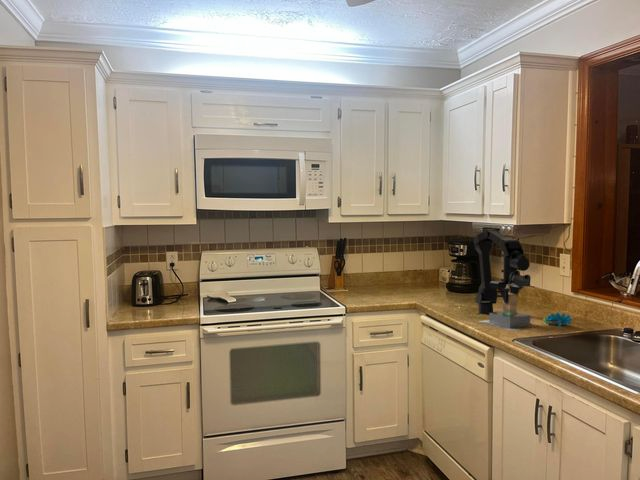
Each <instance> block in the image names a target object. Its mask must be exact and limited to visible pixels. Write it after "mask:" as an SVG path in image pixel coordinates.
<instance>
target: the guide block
mask: <svg viewBox="0 0 640 480" xmlns="http://www.w3.org/2000/svg"><path fill="white" fill-rule="evenodd" d="M488 316H489V317H488V320H489V321H488V324H489V323H493V324H494V325H495V324H496V325H495V326H500V327H502V328H506V329H515V328H524V327H530V326H531V325H530V323H531V315H530V314H527V313H522V312H519V311H517V314H516V315H510V316H509V315H506V314H503V310H501V311H500V310H499V311H493V312H491V313H489V315H488ZM493 324H492V325H493Z"/></svg>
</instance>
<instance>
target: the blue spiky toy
mask: <svg viewBox="0 0 640 480" xmlns="http://www.w3.org/2000/svg"><path fill="white" fill-rule="evenodd" d="M572 320H573V318H572V317H571V315H570V314H566V313H563V312H562V313H561V314H560V312H556V313H555V314H554V313H553V312H552V313H551V314H550V315H547V317H544V318H543V322H544V323H545V325H546V326H550V325H557V326H558V328H561V327H562V325H566V326H567V325H569V324H571V323H572Z"/></svg>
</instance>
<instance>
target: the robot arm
mask: <svg viewBox="0 0 640 480" xmlns="http://www.w3.org/2000/svg"><path fill="white" fill-rule="evenodd" d="M494 243H495V244H496V245H498V246H499V249H500V250H501V251H502V252H503V253H502V254H501V257H502V258H503V269H500V270H501V272H500V273H503V274H502V275H503V278H500V279H501V280H493V278H492V268H491V256H490V255H491V254H490V252H491V250H492V249H493V244H494ZM473 245H474V250H475V251H476V252H477V253H478V258H479V271H480V282H481V283H480V285H479V287H478V292H477V295H476V296H475V298H474V301H475V302H474V303H476V304H477V305H478V313H476V314H475V316H477V315H487V316H489V313H491V312H494V306H493V304H495V305H496V304H497V299H498V296H499V295H498V292H499V294H500V296H501V297H502V301H503V300H504V302H505V303H507V302H508V293H512V294H517V296H518V295H519V293H520V291H521V290H522V289H524V288H526V287H530V286H531V279H532V278H531V275H530V274H524V275H522V274H521V272H525V271H527V270H528V269H529V268H530V264H531V263H530V261H529V259H528V258H527V257H526V254H525V251H524V249H523V246H522V244H521V242H520V241H519V240H518V239H516V238H511V237H507V236H506V235H504V234H502V233H500V232H499V231H497V229H491V228H490V229H488V228H487V229H485V230H484V231H483V232H480V233H479V234H476V236H475V237H474V238H473Z"/></svg>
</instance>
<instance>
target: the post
mask: <svg viewBox="0 0 640 480" xmlns="http://www.w3.org/2000/svg"><path fill="white" fill-rule="evenodd" d="M517 297H518V295H517V294H512V293H510V292H508V302H507V303H505V302H504V300H503V299H502V311H503V314H506V315H509V316H510V315H516V314H517V312H518V311H517V305H518V304H517V303H518V302H517V301H518V300H517V299H518V298H517Z"/></svg>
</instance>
